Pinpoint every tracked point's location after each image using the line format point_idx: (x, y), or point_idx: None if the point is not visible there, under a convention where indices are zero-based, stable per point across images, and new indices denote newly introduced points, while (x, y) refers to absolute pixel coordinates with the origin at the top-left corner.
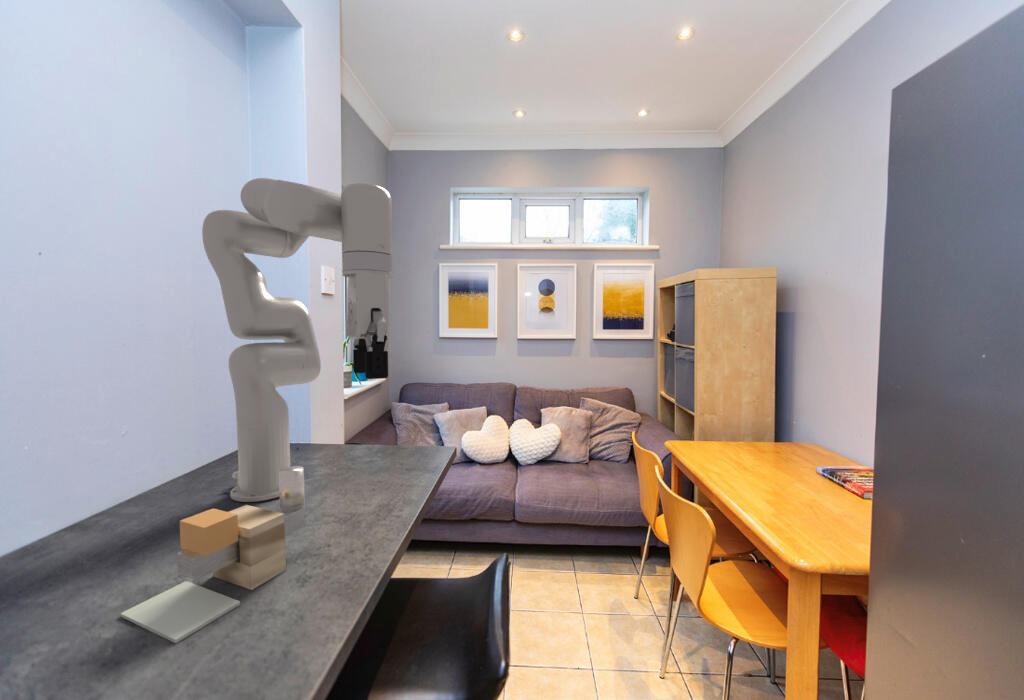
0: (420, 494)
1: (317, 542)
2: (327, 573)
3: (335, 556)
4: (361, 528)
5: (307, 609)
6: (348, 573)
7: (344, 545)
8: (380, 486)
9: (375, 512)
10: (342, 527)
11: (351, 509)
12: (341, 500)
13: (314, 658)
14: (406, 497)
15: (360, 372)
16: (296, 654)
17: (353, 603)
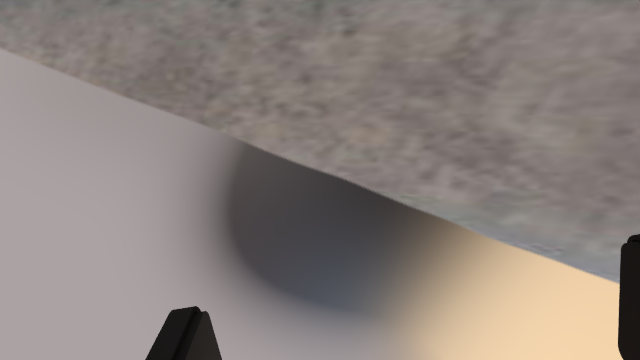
0: (526, 234)
1: (372, 6)
2: (237, 35)
3: (296, 47)
4: (401, 98)
5: (133, 9)
6: (224, 73)
7: (336, 63)
8: (633, 149)
9: (472, 130)
10: (424, 57)
11: (517, 76)
12: (589, 50)
13: (15, 30)
14: (525, 202)
15: (626, 273)
16: (28, 4)
17: (130, 82)
